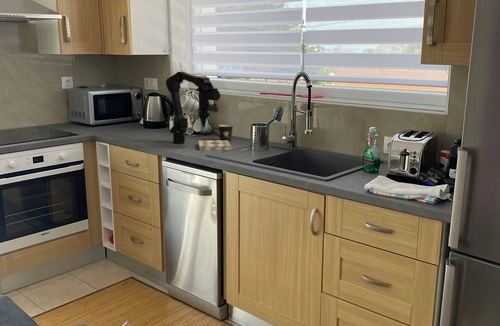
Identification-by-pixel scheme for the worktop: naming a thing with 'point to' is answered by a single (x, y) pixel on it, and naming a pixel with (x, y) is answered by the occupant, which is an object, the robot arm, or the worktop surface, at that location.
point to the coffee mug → (225, 132)
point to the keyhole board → (214, 145)
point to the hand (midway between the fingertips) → (203, 126)
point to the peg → (204, 127)
